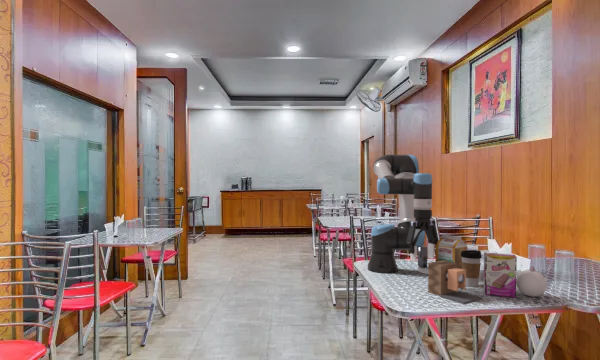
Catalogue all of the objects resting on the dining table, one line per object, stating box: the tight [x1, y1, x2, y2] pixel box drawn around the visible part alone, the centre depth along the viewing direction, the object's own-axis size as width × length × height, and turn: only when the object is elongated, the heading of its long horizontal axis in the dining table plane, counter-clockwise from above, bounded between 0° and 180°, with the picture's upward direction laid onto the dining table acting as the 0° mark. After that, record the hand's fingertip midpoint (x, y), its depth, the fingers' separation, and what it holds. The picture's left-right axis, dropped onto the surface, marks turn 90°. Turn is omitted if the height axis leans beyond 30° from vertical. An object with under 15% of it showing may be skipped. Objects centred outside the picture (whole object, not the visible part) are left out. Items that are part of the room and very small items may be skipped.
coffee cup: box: [461, 249, 483, 288], centre depth 161 cm, size 8×8×15 cm
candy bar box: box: [483, 251, 518, 299], centre depth 146 cm, size 11×5×16 cm, turn 71°
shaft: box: [417, 245, 465, 283], centre depth 150 cm, size 21×4×11 cm, turn 32°
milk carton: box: [434, 234, 468, 269], centre depth 181 cm, size 11×11×19 cm
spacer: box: [448, 268, 466, 291], centre depth 143 cm, size 4×6×8 cm
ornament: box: [516, 265, 548, 298], centre depth 145 cm, size 10×10×12 cm
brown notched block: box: [427, 260, 457, 297], centre depth 149 cm, size 6×10×12 cm, turn 122°
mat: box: [439, 290, 483, 305], centre depth 142 cm, size 10×12×1 cm
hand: (422, 259), depth 157 cm, fingers open, 11 cm apart
